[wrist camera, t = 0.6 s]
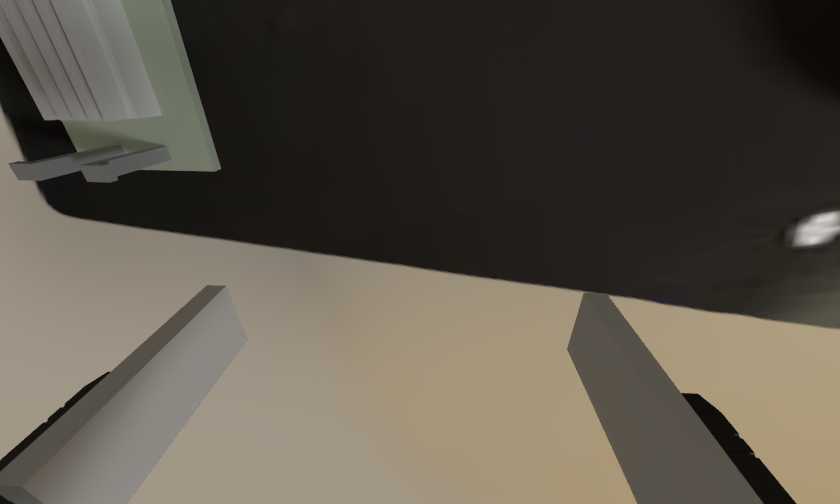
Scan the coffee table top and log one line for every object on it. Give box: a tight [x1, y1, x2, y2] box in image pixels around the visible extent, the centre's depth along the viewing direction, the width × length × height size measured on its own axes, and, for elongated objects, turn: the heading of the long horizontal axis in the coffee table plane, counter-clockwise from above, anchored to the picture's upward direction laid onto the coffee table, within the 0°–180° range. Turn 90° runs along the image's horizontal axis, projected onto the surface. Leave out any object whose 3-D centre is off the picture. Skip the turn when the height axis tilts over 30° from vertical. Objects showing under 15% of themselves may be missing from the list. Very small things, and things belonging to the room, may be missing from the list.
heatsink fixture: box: [0, 0, 221, 182], centre depth 28 cm, size 24×16×10 cm, turn 0°
